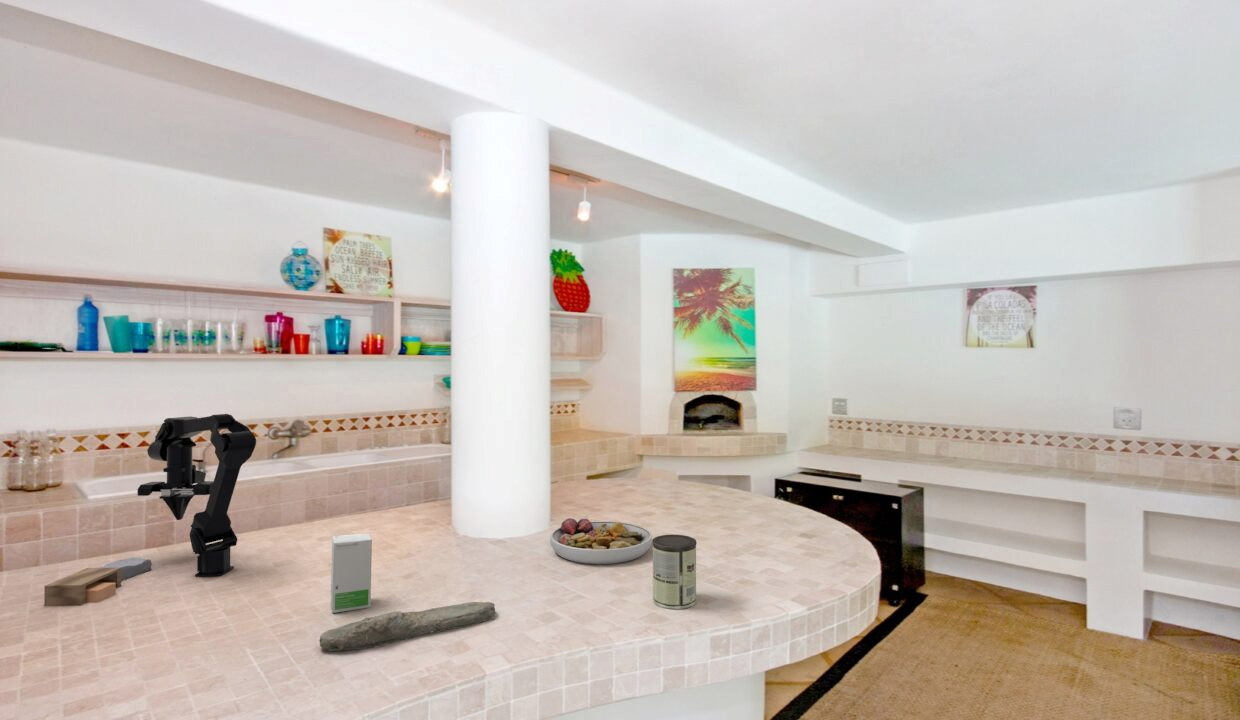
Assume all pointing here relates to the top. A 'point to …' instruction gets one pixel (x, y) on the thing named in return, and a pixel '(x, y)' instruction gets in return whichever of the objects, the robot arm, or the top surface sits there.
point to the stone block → (130, 566)
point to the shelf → (78, 585)
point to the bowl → (600, 541)
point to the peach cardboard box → (99, 591)
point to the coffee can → (674, 571)
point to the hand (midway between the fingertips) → (179, 519)
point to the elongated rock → (404, 625)
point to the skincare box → (351, 572)
